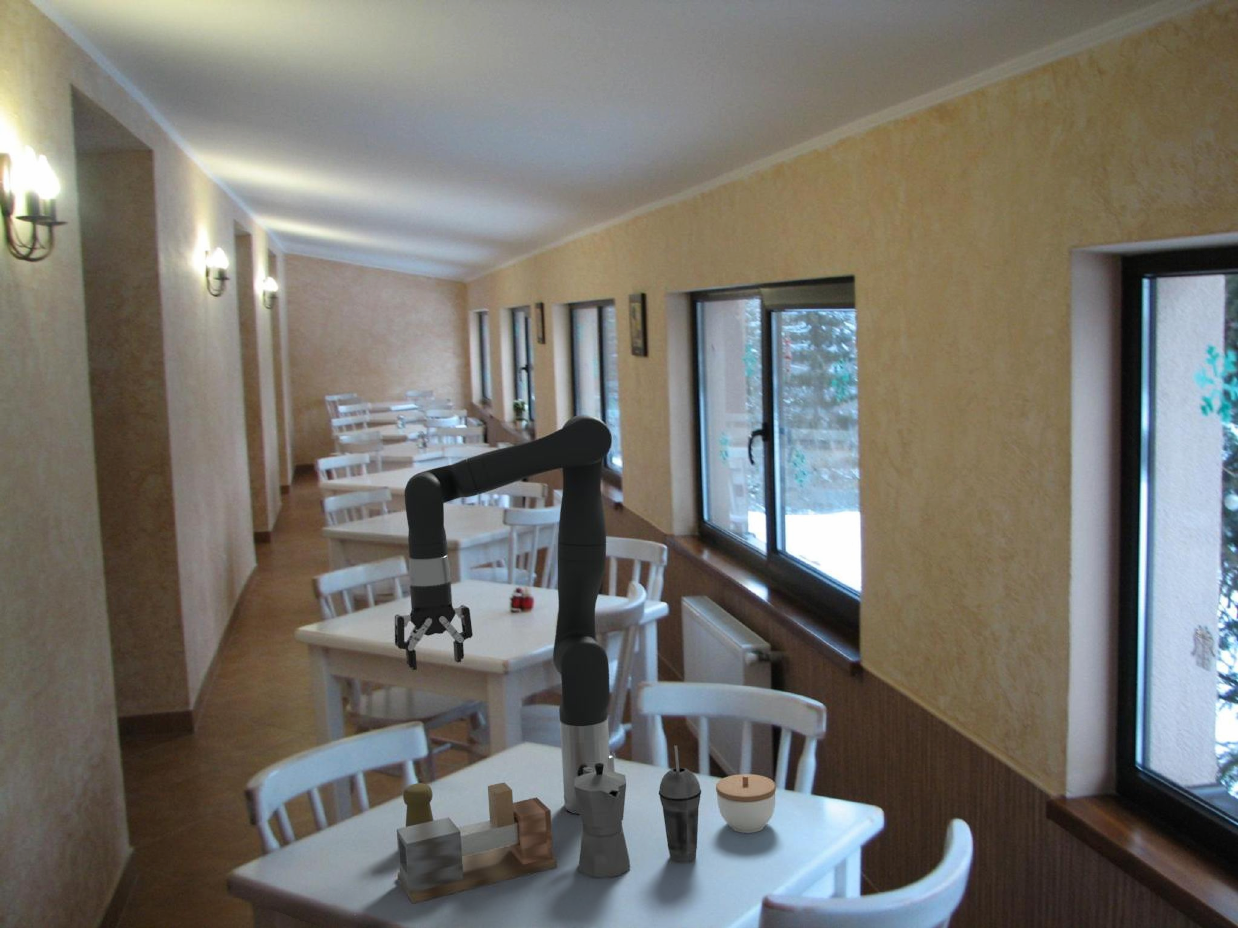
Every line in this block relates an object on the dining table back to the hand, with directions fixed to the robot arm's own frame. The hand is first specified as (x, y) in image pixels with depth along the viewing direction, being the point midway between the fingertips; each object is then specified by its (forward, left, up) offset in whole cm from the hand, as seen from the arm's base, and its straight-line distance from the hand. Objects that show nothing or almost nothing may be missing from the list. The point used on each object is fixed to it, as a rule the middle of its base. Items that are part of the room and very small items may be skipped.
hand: (435, 665), depth 207 cm
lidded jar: (-47, +32, -30) cm, 64 cm away
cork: (+7, +8, -30) cm, 32 cm away
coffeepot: (-18, +32, -30) cm, 48 cm away
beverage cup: (-31, +37, -30) cm, 57 cm away
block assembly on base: (+2, +24, -30) cm, 39 cm away
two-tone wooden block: (-1, +24, -26) cm, 35 cm away
